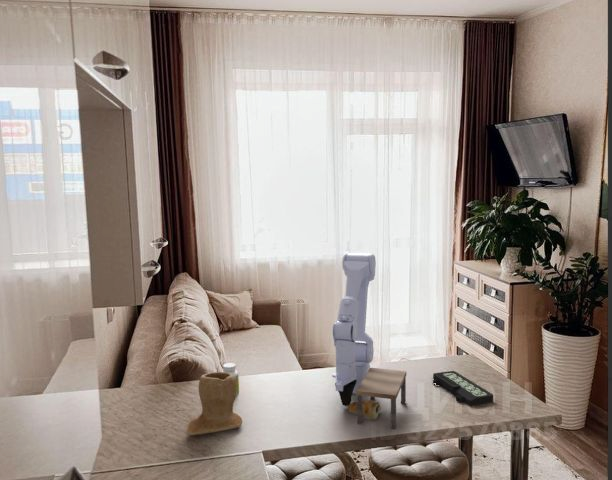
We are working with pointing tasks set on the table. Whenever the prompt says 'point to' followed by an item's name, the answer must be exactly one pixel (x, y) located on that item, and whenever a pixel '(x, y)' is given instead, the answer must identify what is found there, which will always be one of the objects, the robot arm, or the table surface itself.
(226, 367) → the supplement bottle
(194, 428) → the stone cup
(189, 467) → the table surface
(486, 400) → the digital display
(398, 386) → the wooden table
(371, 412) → the pastry
